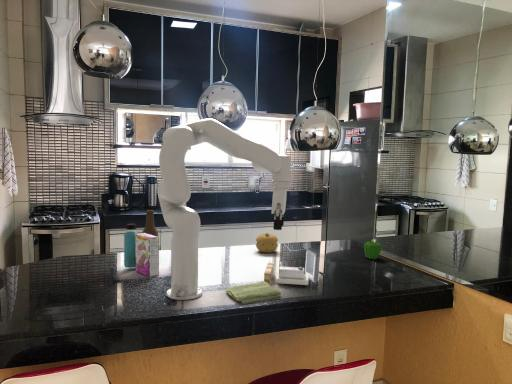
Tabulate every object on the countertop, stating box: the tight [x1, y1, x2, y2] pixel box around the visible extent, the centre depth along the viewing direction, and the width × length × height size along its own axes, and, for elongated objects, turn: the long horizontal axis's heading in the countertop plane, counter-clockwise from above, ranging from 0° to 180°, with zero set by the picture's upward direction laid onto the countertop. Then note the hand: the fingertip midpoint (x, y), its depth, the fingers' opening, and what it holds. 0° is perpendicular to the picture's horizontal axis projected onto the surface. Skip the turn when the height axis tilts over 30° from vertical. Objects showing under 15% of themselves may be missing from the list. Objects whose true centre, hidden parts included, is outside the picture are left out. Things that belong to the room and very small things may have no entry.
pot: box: [255, 232, 279, 254], centre depth 213 cm, size 12×12×10 cm
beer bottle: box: [141, 209, 159, 237], centre depth 189 cm, size 8×8×24 cm
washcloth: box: [225, 280, 282, 305], centre depth 145 cm, size 13×18×3 cm
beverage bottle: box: [123, 223, 140, 269], centre depth 174 cm, size 6×7×20 cm
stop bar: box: [278, 266, 305, 280], centre depth 162 cm, size 4×10×6 cm, turn 83°
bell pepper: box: [363, 239, 382, 260], centre depth 203 cm, size 8×8×10 cm
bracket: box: [275, 272, 309, 286], centre depth 163 cm, size 8×13×2 cm, turn 83°
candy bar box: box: [135, 232, 160, 278], centre depth 168 cm, size 11×5×16 cm, turn 47°
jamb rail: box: [263, 262, 275, 286], centre depth 164 cm, size 16×2×5 cm, turn 173°
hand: (278, 227), depth 162 cm, fingers open, 9 cm apart
